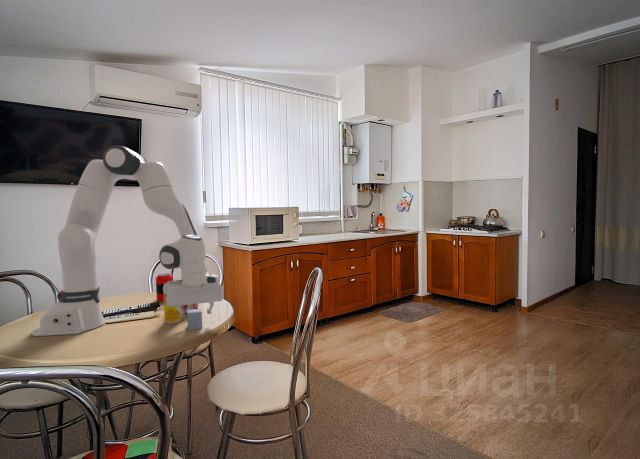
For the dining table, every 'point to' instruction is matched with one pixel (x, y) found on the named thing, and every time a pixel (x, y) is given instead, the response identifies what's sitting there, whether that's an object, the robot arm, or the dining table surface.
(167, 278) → the soda can
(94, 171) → the robot arm
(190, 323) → the slate block
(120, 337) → the dining table surface
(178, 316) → the beer can
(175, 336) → the dining table surface
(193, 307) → the soda can
